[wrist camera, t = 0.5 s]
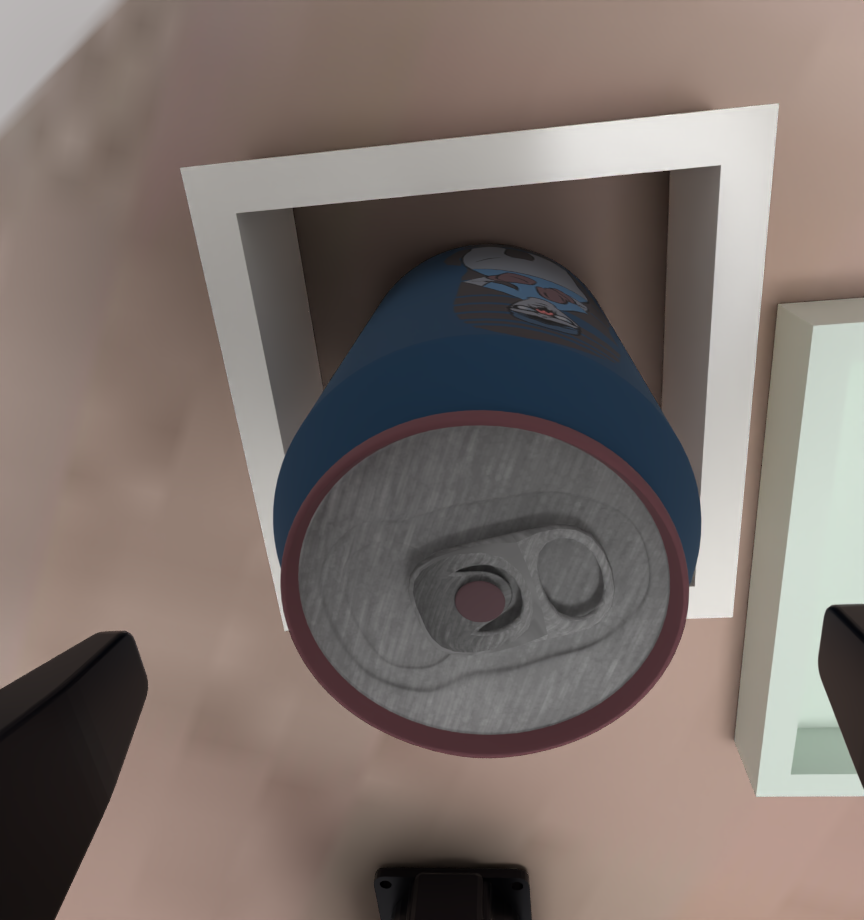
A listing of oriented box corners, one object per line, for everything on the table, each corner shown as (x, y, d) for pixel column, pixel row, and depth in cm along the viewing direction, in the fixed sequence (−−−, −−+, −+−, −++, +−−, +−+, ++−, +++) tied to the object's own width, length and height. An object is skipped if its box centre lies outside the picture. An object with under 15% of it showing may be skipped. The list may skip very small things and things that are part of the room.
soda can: (415, 491, 23) (343, 818, 12) (334, 282, 20) (149, 458, 9) (631, 433, 21) (772, 744, 11) (574, 200, 19) (683, 296, 8)
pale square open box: (689, 529, 23) (732, 617, 19) (320, 545, 24) (284, 630, 20) (713, 109, 18) (779, 103, 14) (247, 160, 19) (180, 167, 15)
